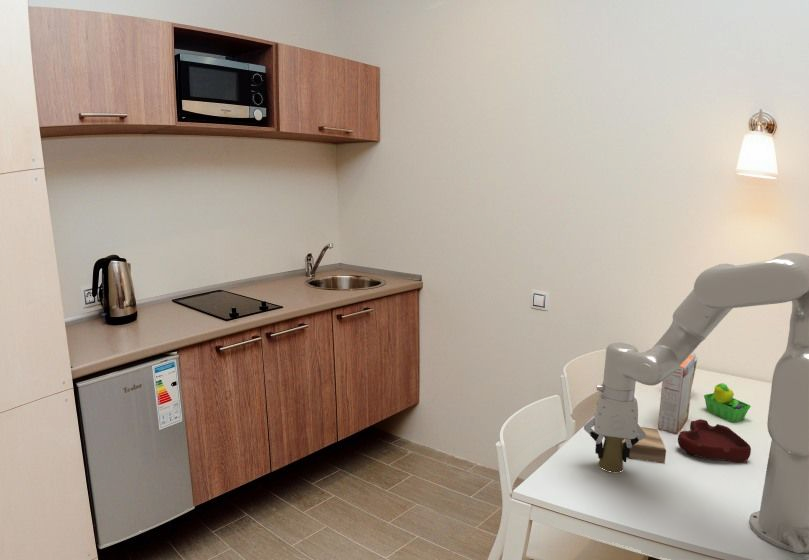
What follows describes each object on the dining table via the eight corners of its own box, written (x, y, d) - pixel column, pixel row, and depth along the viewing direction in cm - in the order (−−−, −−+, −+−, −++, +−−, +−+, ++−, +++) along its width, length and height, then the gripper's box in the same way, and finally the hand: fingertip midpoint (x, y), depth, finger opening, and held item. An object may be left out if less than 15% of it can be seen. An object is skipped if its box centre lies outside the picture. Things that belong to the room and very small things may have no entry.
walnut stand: (664, 462, 143) (666, 449, 142) (616, 456, 146) (617, 442, 145) (656, 441, 154) (657, 428, 153) (611, 435, 157) (612, 423, 156)
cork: (625, 474, 137) (629, 434, 135) (600, 471, 138) (604, 431, 136) (620, 462, 143) (624, 423, 141) (596, 459, 144) (600, 421, 142)
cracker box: (667, 413, 173) (675, 350, 169) (688, 418, 169) (696, 355, 165) (655, 428, 162) (663, 362, 158) (677, 434, 158) (685, 367, 154)
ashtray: (740, 476, 137) (743, 458, 136) (672, 453, 148) (674, 436, 147) (756, 451, 150) (759, 435, 149) (693, 431, 161) (695, 416, 160)
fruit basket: (750, 421, 168) (755, 386, 166) (729, 425, 165) (734, 390, 163) (717, 406, 178) (721, 374, 176) (697, 410, 175) (702, 377, 173)
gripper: (583, 393, 135) (577, 460, 138) (657, 402, 131) (649, 470, 134) (581, 382, 142) (576, 446, 146) (652, 390, 138) (644, 455, 141)
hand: (611, 457), depth 140 cm, fingers open, 5 cm apart
